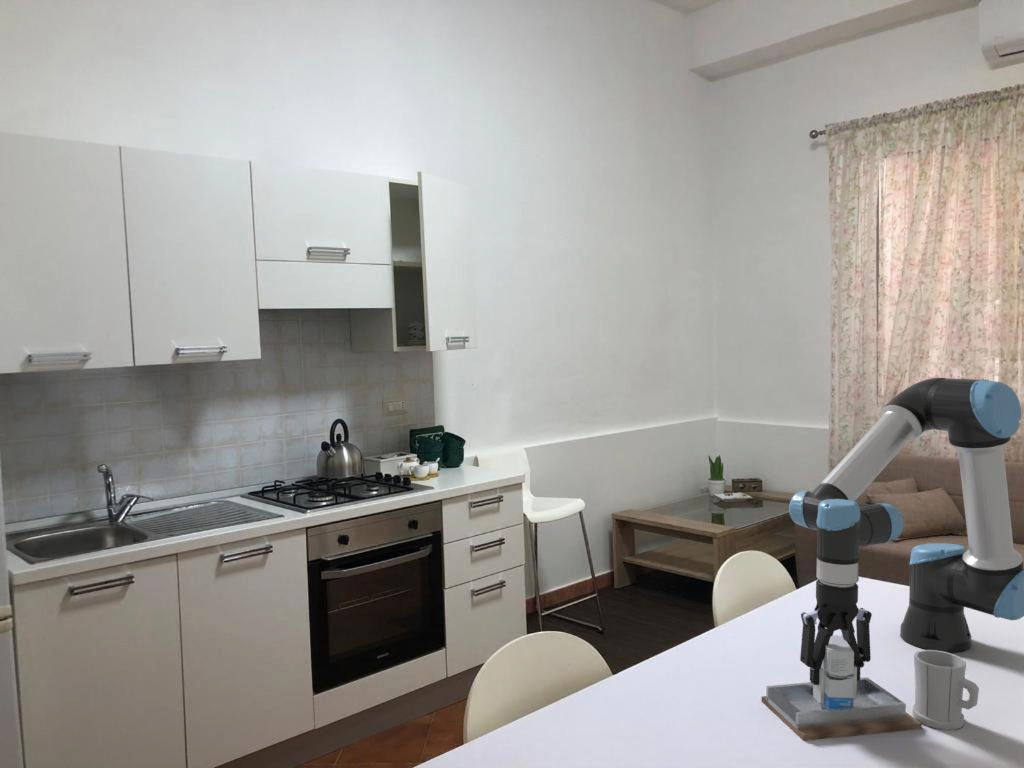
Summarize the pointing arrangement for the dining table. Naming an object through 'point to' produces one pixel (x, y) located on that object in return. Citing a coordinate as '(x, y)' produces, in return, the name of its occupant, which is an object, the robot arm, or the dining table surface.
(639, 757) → the dining table surface
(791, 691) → the metal serving tray
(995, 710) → the dining table surface
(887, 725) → the panel
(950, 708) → the cup
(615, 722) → the dining table surface
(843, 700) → the ink box
